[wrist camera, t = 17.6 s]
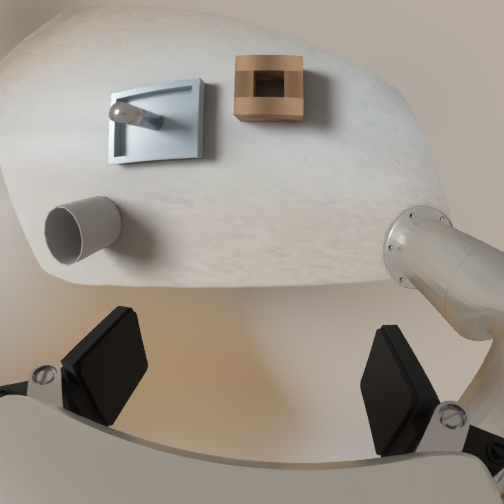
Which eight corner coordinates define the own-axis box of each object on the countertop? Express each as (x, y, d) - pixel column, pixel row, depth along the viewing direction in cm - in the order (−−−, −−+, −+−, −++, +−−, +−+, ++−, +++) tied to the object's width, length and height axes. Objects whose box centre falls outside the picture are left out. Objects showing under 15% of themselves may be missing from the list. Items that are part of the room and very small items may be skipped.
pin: (163, 113, 33) (127, 99, 23) (163, 129, 34) (125, 120, 24) (148, 115, 33) (109, 103, 24) (148, 131, 34) (108, 123, 24)
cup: (122, 197, 38) (81, 208, 29) (122, 248, 41) (85, 270, 31) (83, 195, 39) (42, 205, 29) (85, 242, 41) (47, 260, 32)
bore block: (300, 68, 30) (302, 56, 26) (300, 122, 32) (303, 115, 28) (241, 68, 31) (235, 56, 26) (240, 121, 33) (233, 114, 29)
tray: (205, 83, 32) (199, 77, 29) (202, 157, 35) (197, 157, 33) (120, 97, 33) (111, 94, 31) (117, 164, 37) (108, 164, 34)
